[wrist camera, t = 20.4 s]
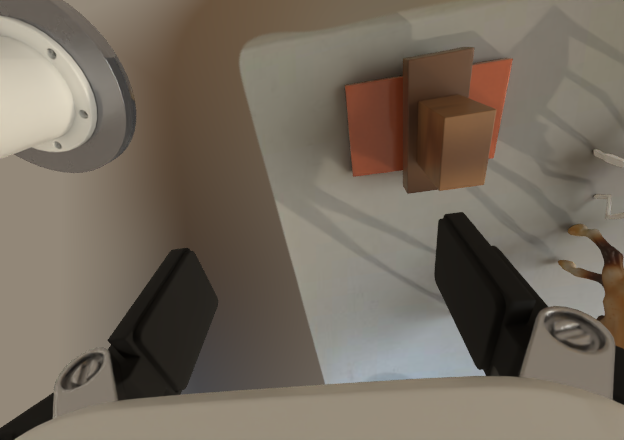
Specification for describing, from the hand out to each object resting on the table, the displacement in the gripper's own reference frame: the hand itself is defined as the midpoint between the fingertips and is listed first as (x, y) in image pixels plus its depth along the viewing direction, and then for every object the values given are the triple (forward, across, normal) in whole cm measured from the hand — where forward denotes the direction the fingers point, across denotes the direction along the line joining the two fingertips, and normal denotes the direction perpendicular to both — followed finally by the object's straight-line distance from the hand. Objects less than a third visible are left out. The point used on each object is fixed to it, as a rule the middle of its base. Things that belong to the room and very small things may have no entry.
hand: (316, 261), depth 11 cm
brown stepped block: (+23, -11, +2) cm, 26 cm away
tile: (+24, -11, +2) cm, 27 cm away
